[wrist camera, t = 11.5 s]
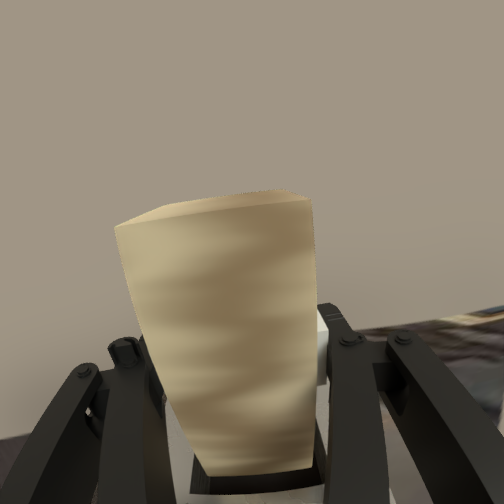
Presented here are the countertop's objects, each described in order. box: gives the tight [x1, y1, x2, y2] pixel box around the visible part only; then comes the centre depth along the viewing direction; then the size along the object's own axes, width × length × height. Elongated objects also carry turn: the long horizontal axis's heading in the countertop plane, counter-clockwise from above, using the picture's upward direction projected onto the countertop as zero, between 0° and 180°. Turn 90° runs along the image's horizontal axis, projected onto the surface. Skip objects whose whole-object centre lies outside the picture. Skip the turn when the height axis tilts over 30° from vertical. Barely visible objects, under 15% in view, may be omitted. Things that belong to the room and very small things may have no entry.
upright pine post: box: [114, 189, 317, 476], centre depth 10 cm, size 5×5×12 cm
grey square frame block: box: [165, 377, 396, 504], centre depth 13 cm, size 12×12×4 cm
